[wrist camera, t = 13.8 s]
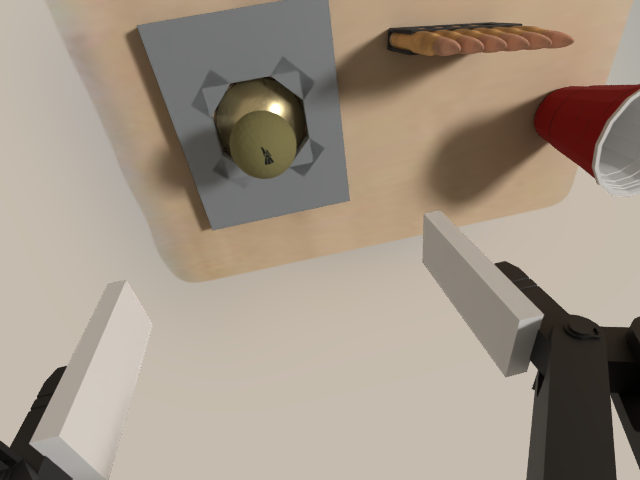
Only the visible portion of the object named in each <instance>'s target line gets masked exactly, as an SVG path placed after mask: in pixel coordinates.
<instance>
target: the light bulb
mask: <svg viewBox="0 0 640 480" xmlns="http://www.w3.org/2000/svg"><path fill="white" fill-rule="evenodd" d="M229 146H230V152H231V155H232V157H233V160H234V162H235V163H236V164H237V166H238V167H239V168H240V169H241V170H242V171H243V172H245V173H246V174H248V175H250V176H252V177H254V178H259V179H270V178H274V177H277V176H279V175H281V174H282V173H284V172H285V171H286V170H287V169H288V168H289V167H290V165H291V164H292V162H293V160H294V158H295V154H296V138H295V134H294V132H293V130H292V128H291V126H290V125H289V124H288V122H287V121H286V120H285V119H284V118H283V117H281V116H279V115H278V114H276V113H273V112H271V111H265V110H258V111H253V112H250V113H248V114H246V115H244V116H243V117H241V118H240V119H239V120H238V121H237V122H236V124H235V125H234V127H233V129H232V132H231V135H230V142H229Z"/></svg>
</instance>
